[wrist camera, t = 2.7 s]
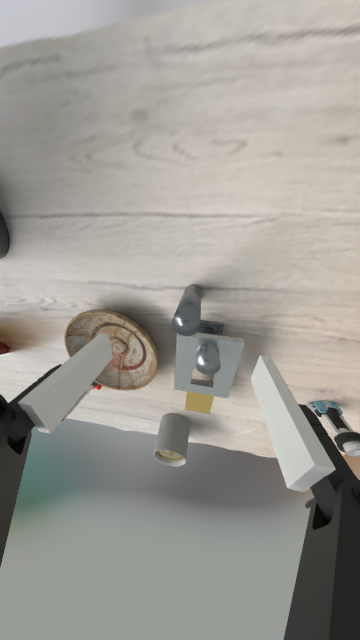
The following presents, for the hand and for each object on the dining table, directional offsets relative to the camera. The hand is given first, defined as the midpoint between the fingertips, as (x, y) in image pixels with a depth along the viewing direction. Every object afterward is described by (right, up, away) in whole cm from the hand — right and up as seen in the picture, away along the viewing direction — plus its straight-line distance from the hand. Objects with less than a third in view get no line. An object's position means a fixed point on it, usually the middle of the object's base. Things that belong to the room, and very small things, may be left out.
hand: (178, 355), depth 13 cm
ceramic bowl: (-16, -3, +26) cm, 31 cm away
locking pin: (+3, +9, +16) cm, 19 cm away
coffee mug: (-2, -34, +40) cm, 52 cm away
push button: (+36, -18, +25) cm, 47 cm away
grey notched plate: (+6, -7, +24) cm, 25 cm away
